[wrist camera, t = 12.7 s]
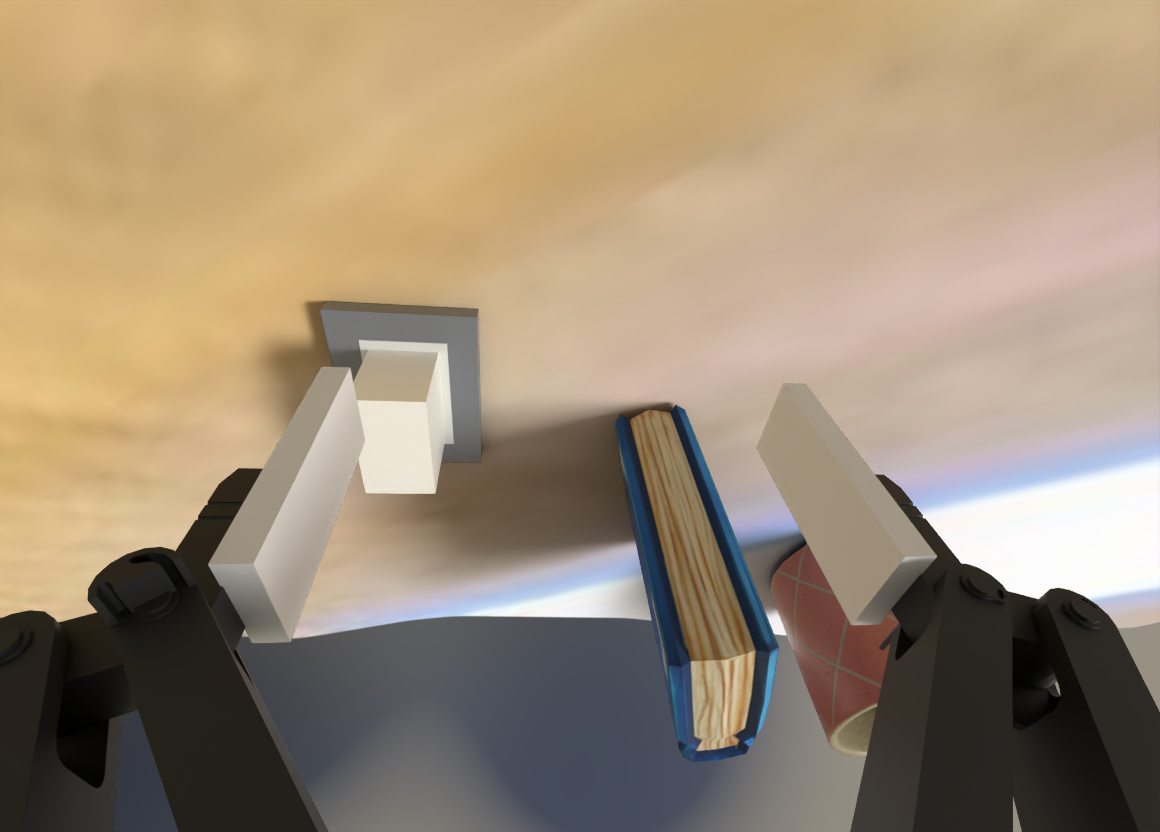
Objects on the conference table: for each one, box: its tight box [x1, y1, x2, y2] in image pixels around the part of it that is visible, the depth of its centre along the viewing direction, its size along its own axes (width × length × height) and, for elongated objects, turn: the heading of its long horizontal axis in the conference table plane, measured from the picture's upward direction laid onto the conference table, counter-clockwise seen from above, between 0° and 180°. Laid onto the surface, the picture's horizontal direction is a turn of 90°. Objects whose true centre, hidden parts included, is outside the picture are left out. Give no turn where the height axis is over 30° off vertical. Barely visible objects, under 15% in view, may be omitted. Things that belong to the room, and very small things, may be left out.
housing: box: [353, 350, 445, 494], centre depth 42 cm, size 10×6×7 cm, turn 174°
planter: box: [770, 544, 899, 757], centre depth 62 cm, size 19×19×20 cm
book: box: [615, 405, 779, 762], centre depth 47 cm, size 22×7×25 cm, turn 10°
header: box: [320, 301, 482, 463], centre depth 44 cm, size 16×12×5 cm
